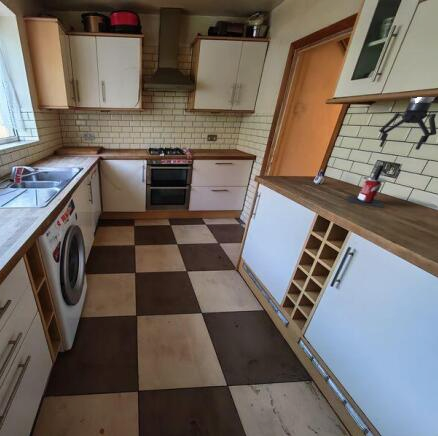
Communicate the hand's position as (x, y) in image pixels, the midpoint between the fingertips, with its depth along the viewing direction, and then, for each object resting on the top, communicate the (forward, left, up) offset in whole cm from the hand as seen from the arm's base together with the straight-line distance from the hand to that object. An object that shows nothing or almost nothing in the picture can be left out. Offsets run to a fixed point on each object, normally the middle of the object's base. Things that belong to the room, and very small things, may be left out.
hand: (398, 148), depth 118 cm
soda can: (+5, +9, -28) cm, 30 cm away
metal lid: (+5, +9, -16) cm, 19 cm away
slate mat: (+5, +9, -29) cm, 30 cm away
